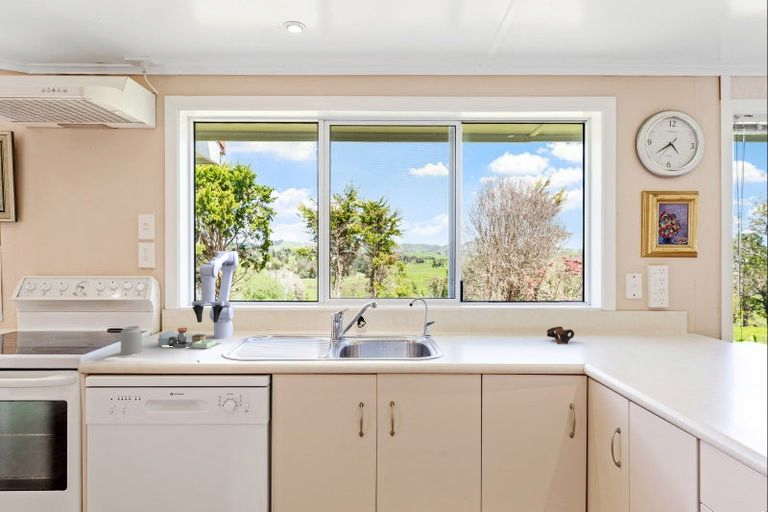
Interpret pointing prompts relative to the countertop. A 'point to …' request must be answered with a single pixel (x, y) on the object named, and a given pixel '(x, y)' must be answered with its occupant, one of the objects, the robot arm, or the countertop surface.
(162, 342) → the trolley
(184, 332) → the pin
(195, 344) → the tray
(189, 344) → the ramp board
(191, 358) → the countertop surface
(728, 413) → the countertop surface
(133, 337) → the can
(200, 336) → the wooden cube
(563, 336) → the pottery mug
